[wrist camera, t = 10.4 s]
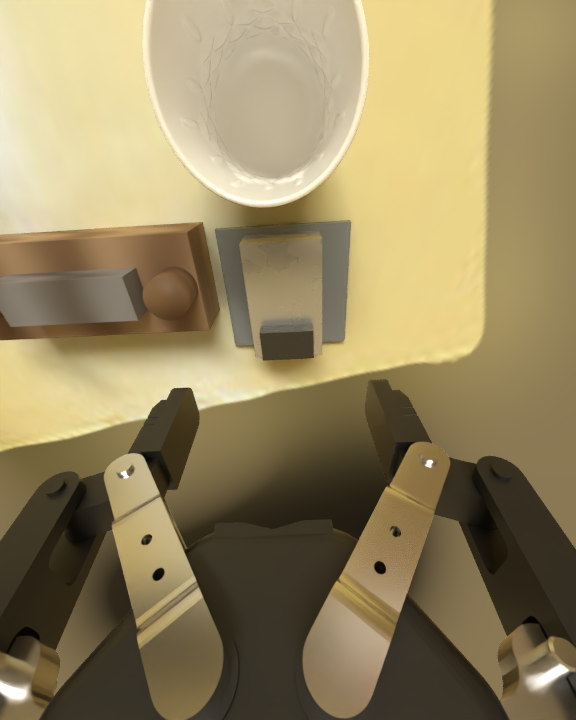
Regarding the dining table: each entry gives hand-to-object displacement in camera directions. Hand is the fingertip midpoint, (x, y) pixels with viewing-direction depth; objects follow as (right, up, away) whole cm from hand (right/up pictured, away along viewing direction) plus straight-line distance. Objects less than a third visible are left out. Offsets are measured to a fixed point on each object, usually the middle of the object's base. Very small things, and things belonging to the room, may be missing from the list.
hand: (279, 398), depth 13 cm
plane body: (-14, +9, +11) cm, 20 cm away
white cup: (-1, +17, +5) cm, 18 cm away
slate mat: (0, +8, +11) cm, 14 cm away
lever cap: (0, +7, +11) cm, 13 cm away
